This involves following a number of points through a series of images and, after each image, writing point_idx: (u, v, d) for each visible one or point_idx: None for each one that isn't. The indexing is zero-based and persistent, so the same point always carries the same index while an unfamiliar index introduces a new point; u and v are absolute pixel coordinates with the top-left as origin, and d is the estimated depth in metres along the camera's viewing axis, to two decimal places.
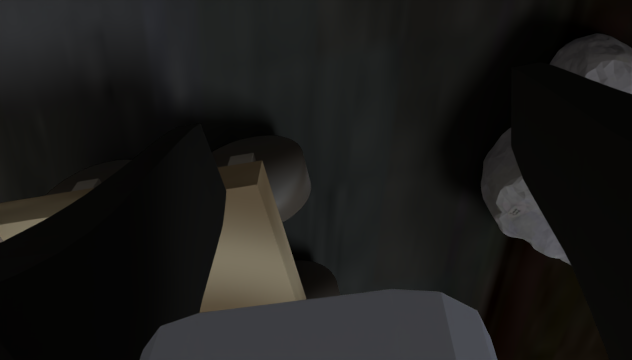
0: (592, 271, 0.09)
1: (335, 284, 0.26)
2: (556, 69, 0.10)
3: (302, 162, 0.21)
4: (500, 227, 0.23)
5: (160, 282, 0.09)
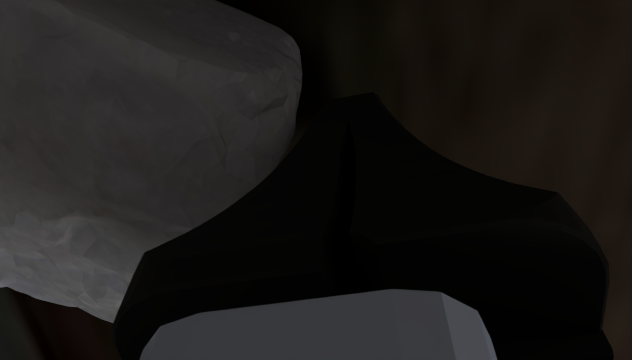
0: None
1: None
2: (373, 101, 0.10)
3: None
4: None
5: None
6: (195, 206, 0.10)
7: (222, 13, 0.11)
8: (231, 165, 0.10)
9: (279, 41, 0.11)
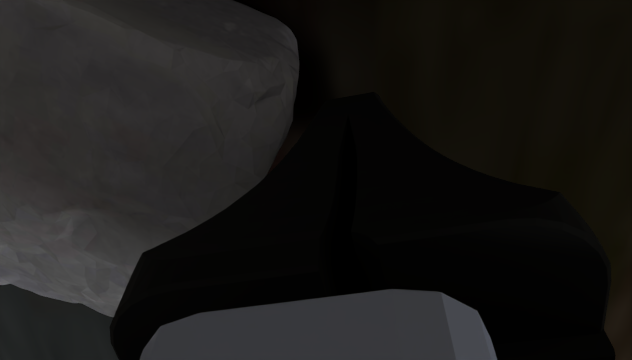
0: None
1: None
2: (374, 101, 0.10)
3: None
4: None
5: (356, 256, 0.09)
6: (193, 196, 0.10)
7: (218, 4, 0.11)
8: (228, 154, 0.10)
9: (276, 31, 0.11)
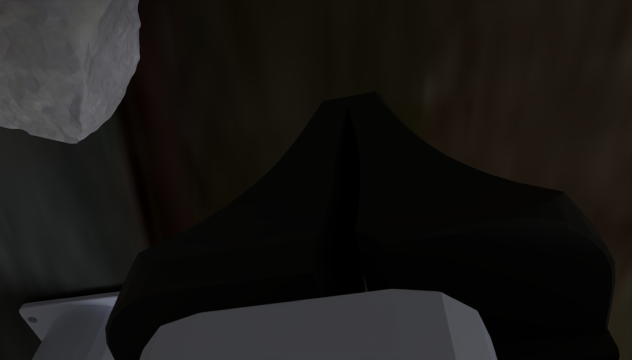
0: None
1: None
2: (376, 101, 0.10)
3: None
4: None
5: (353, 256, 0.09)
6: None
7: None
8: None
9: None
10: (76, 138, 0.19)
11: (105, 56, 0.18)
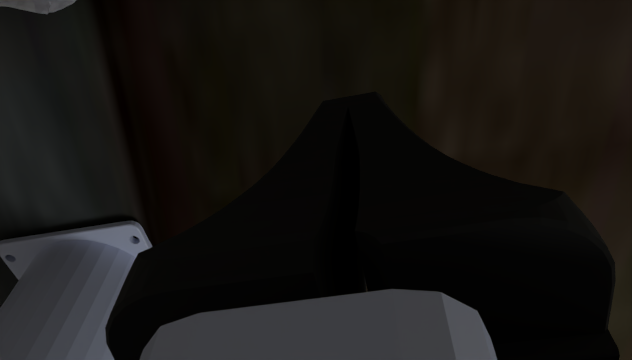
0: None
1: None
2: (376, 101, 0.10)
3: None
4: None
5: (353, 256, 0.09)
6: None
7: None
8: None
9: None
10: (47, 3, 0.17)
11: None
